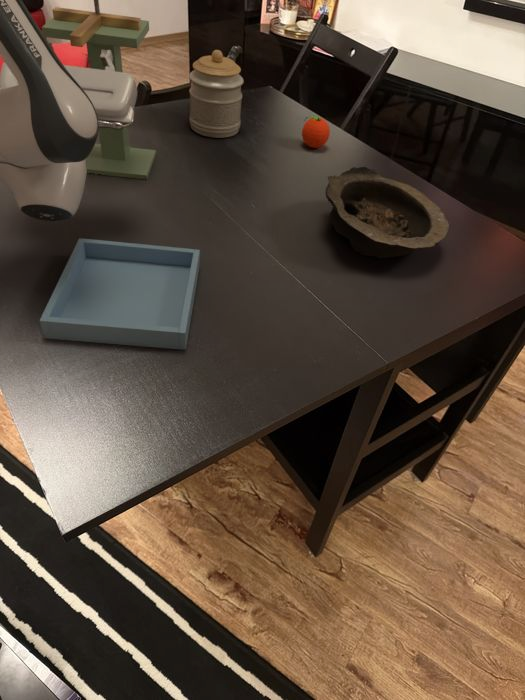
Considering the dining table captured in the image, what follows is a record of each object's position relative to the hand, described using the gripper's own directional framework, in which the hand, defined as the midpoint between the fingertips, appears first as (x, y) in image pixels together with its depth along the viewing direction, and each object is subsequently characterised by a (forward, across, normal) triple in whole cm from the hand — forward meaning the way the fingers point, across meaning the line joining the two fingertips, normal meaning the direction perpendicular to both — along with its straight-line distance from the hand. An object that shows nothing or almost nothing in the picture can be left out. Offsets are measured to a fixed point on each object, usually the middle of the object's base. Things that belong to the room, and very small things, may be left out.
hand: (77, 49), depth 77 cm
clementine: (+16, -45, +39) cm, 62 cm away
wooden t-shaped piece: (+6, 0, +3) cm, 7 cm away
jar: (+20, -20, +41) cm, 50 cm away
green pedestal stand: (-1, 0, +29) cm, 29 cm away
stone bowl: (-18, -56, +19) cm, 62 cm away
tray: (-39, -12, +7) cm, 42 cm away
